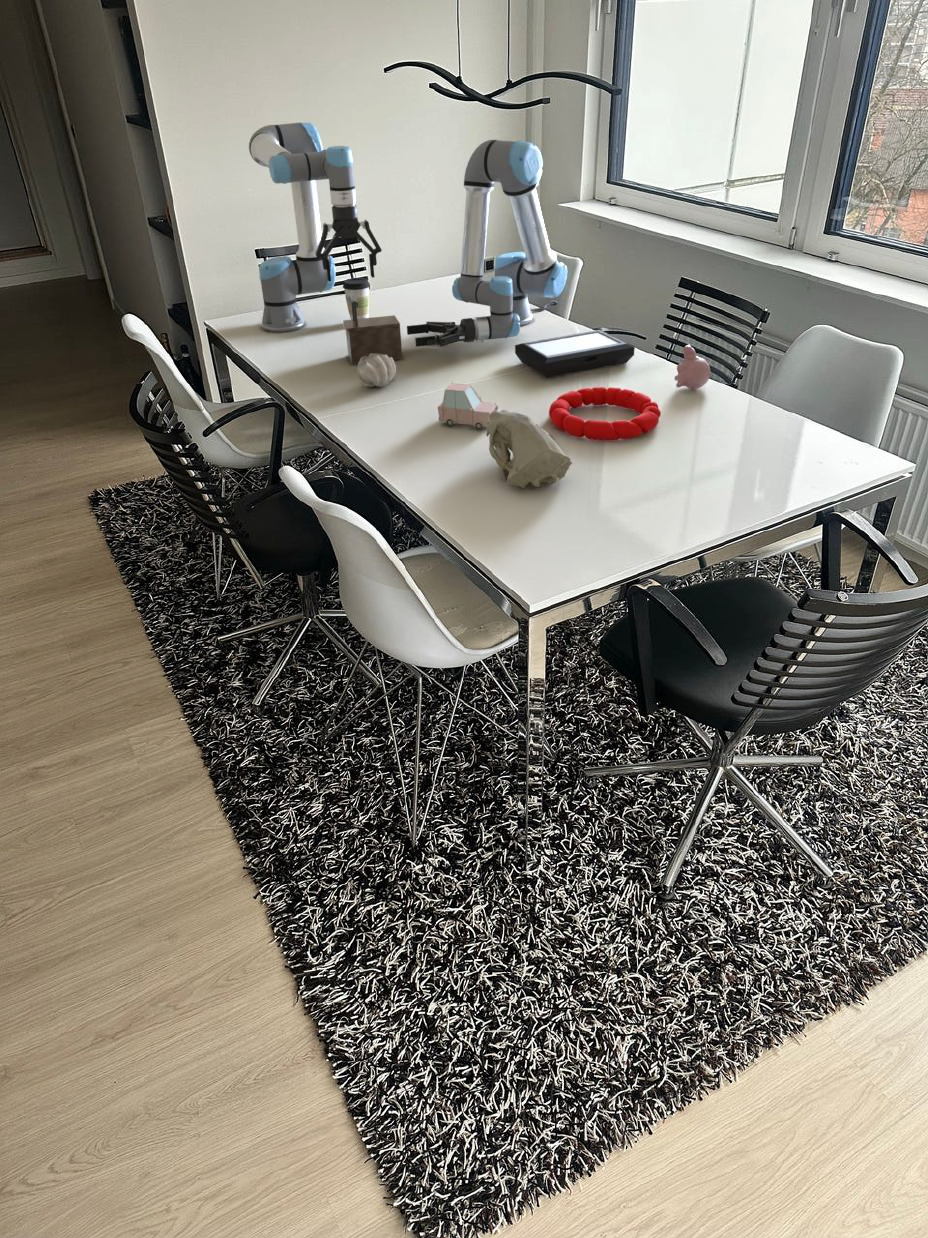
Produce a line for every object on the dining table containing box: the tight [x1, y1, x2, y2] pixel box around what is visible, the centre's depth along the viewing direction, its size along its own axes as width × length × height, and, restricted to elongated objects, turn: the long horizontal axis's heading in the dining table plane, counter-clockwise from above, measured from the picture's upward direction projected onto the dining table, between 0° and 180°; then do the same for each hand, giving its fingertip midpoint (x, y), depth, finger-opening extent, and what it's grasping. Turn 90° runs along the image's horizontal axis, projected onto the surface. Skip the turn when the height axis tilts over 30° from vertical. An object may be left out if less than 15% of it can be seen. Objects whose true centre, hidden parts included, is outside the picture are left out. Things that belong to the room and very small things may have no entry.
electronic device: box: [514, 329, 636, 379], centre depth 282 cm, size 32×6×20 cm
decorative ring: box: [548, 386, 661, 442], centre depth 242 cm, size 7×30×30 cm
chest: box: [345, 325, 403, 366], centre depth 291 cm, size 17×10×11 cm, turn 104°
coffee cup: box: [342, 277, 371, 320], centre depth 323 cm, size 10×10×15 cm
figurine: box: [674, 344, 711, 390], centre depth 259 cm, size 9×11×12 cm
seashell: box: [356, 353, 397, 388], centre depth 269 cm, size 10×15×10 cm
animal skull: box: [485, 409, 573, 489], centre depth 216 cm, size 17×25×20 cm
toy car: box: [437, 382, 499, 431], centre depth 243 cm, size 9×15×10 cm, turn 70°
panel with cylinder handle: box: [343, 296, 401, 332], centre depth 286 cm, size 17×10×9 cm, turn 104°
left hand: (351, 278), depth 279 cm, fingers open, 13 cm apart
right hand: (411, 336), depth 292 cm, fingers open, 13 cm apart
